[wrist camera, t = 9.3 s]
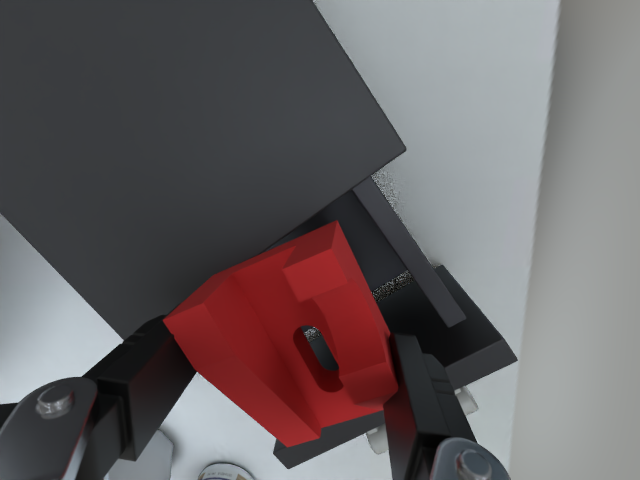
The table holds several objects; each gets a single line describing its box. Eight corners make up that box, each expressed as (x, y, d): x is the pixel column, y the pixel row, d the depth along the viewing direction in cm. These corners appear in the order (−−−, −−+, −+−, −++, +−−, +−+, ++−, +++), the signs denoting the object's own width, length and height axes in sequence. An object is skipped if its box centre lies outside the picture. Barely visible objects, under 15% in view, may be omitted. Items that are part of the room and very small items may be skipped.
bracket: (212, 275, 11) (162, 320, 8) (337, 220, 10) (331, 248, 7) (294, 413, 12) (276, 494, 9) (410, 377, 11) (432, 455, 8)
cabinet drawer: (484, 327, 20) (567, 434, 12) (342, 401, 23) (339, 525, 15) (326, 90, 17) (308, 42, 9) (182, 209, 19) (78, 246, 12)
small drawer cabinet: (377, 149, 18) (407, 149, 9) (224, 261, 21) (129, 347, 12) (218, -91, 15) (32, -438, 6) (69, 76, 18) (-205, 3, 9)
